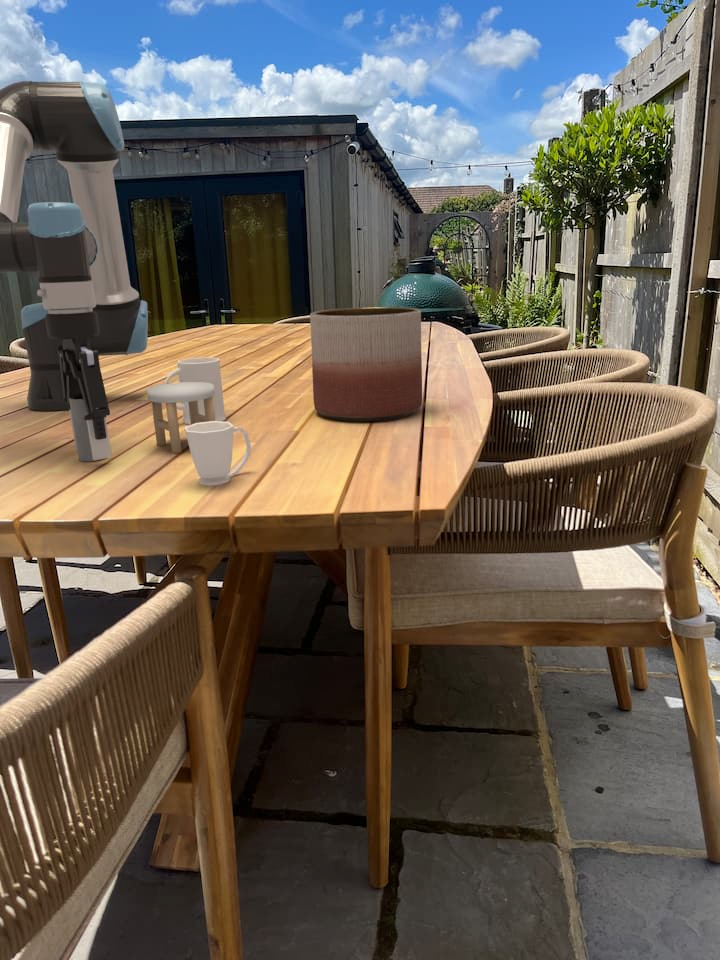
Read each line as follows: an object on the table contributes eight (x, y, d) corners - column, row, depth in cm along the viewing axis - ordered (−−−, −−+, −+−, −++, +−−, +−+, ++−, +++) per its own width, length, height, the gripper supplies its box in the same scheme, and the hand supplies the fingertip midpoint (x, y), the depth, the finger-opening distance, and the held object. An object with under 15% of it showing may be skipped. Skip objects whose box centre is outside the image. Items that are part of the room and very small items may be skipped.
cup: (180, 481, 98) (173, 427, 95) (238, 466, 105) (233, 414, 102) (206, 492, 93) (200, 435, 91) (265, 475, 100) (261, 421, 97)
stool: (144, 444, 119) (137, 387, 116) (203, 433, 125) (197, 379, 122) (169, 457, 111) (161, 396, 107) (230, 445, 117) (224, 387, 114)
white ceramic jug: (172, 430, 129) (165, 366, 125) (161, 421, 136) (154, 361, 132) (232, 421, 134) (226, 360, 131) (218, 413, 141) (212, 355, 138)
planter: (363, 429, 124) (360, 317, 118) (292, 412, 140) (286, 313, 134) (444, 410, 138) (445, 308, 132) (371, 396, 154) (369, 305, 148)
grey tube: (86, 454, 114) (76, 393, 111) (112, 453, 114) (103, 393, 111) (74, 462, 110) (63, 399, 106) (102, 461, 109) (92, 398, 106)
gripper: (27, 310, 111) (51, 443, 118) (64, 315, 94) (89, 471, 101) (75, 307, 115) (95, 436, 122) (118, 312, 98) (139, 461, 105)
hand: (92, 452), depth 111 cm, fingers open, 9 cm apart
